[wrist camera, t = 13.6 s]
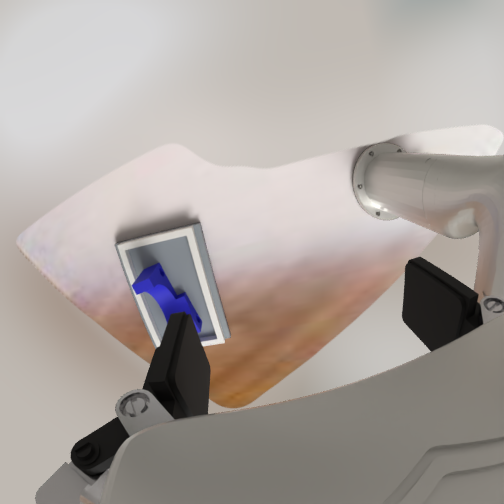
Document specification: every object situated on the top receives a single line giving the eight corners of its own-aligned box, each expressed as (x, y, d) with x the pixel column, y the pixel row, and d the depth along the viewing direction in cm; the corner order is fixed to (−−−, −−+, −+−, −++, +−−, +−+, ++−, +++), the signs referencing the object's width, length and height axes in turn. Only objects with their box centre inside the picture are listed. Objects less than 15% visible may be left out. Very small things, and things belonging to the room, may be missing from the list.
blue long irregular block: (202, 321, 44) (199, 343, 38) (179, 329, 44) (173, 351, 38) (167, 258, 40) (158, 274, 34) (143, 269, 40) (131, 285, 34)
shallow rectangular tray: (200, 222, 40) (198, 225, 37) (230, 334, 46) (230, 341, 44) (117, 242, 39) (111, 247, 37) (156, 345, 46) (154, 352, 44)
